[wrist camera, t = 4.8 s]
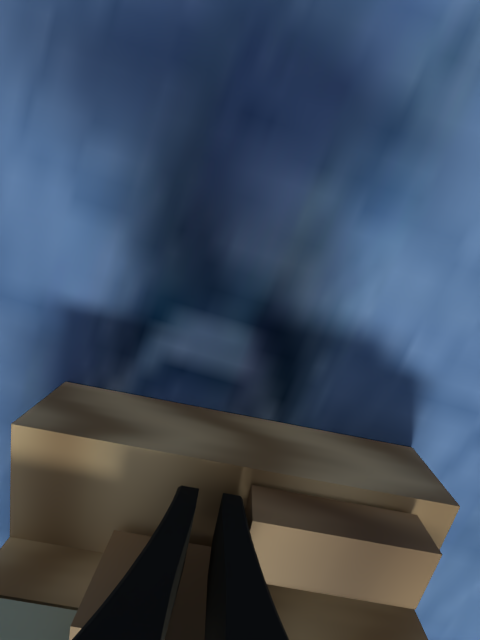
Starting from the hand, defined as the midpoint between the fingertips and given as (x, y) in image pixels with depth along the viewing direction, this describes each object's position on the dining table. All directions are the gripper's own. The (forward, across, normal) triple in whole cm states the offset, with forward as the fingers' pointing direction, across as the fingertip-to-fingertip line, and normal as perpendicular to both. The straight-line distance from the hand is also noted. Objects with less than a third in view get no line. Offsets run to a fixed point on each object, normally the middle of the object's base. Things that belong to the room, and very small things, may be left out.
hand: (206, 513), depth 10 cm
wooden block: (0, -4, 0) cm, 4 cm away
